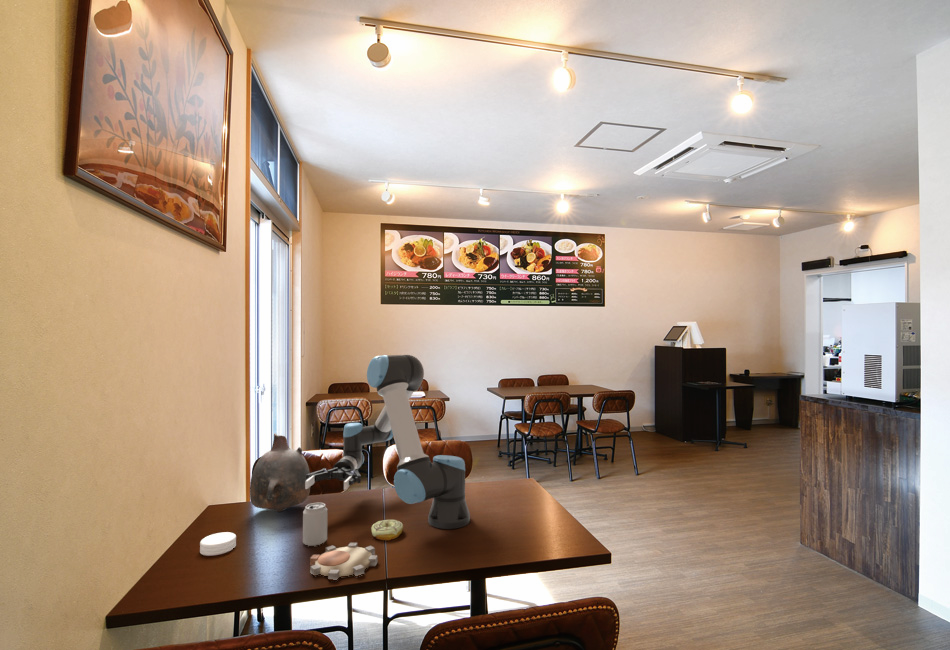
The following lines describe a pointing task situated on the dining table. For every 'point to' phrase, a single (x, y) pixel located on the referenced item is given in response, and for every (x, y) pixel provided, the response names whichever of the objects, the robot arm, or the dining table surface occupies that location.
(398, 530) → the decorated donut
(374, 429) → the robot arm
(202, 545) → the white thick disc
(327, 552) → the sprocket wheel
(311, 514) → the can
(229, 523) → the dining table surface
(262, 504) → the jug
